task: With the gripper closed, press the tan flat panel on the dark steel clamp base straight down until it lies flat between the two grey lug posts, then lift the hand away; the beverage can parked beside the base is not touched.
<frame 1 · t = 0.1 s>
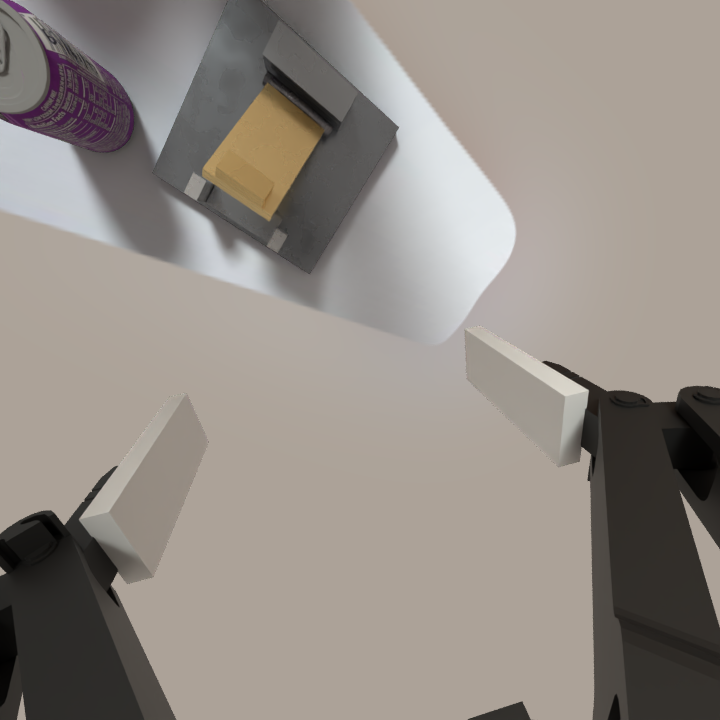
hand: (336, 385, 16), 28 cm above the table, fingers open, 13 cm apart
beverage can: (97, 111, 32), on the table
clamp base: (279, 152, 35), on the table
tan flat panel: (273, 141, 29), point 7 cm above the table, hinge at 35.0°
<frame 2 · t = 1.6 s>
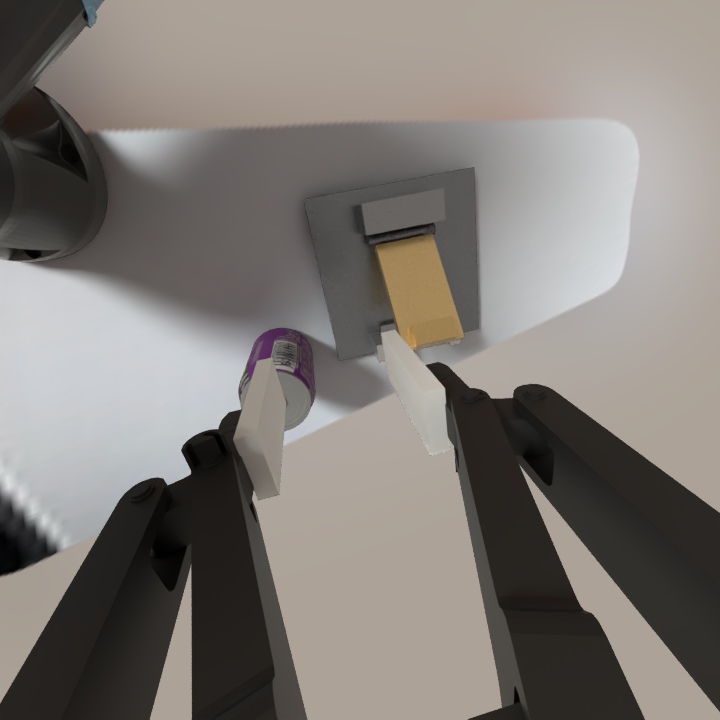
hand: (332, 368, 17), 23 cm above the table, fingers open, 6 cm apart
beverage can: (282, 353, 41), on the table
clamp base: (398, 269, 39), on the table
tan flat panel: (417, 283, 33), point 7 cm above the table, hinge at 35.0°
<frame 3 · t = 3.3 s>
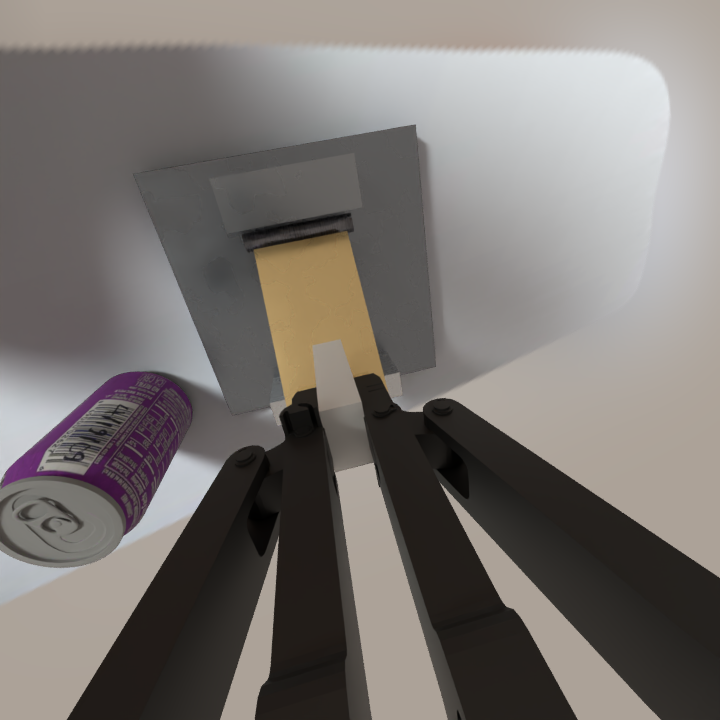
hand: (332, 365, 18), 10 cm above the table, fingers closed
beverage can: (150, 404, 28), on the table
clamp base: (311, 284, 26), on the table
tan flat panel: (317, 312, 20), point 7 cm above the table, hinge at 33.2°, touching gripper
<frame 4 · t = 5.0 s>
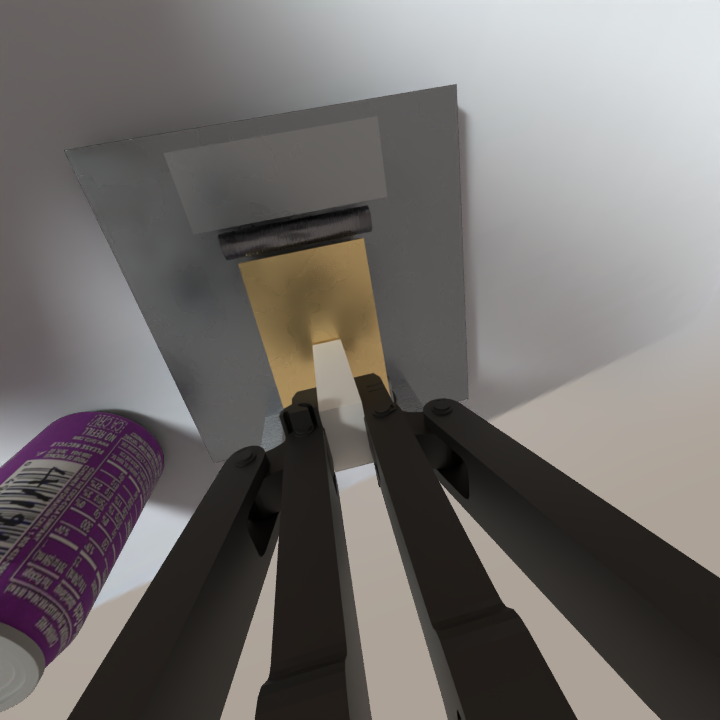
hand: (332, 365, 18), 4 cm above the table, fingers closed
beverage can: (111, 448, 22), on the table
clamp base: (314, 298, 20), on the table
tan flat panel: (324, 347, 17), point 4 cm above the table, hinge at 3.1°, touching gripper
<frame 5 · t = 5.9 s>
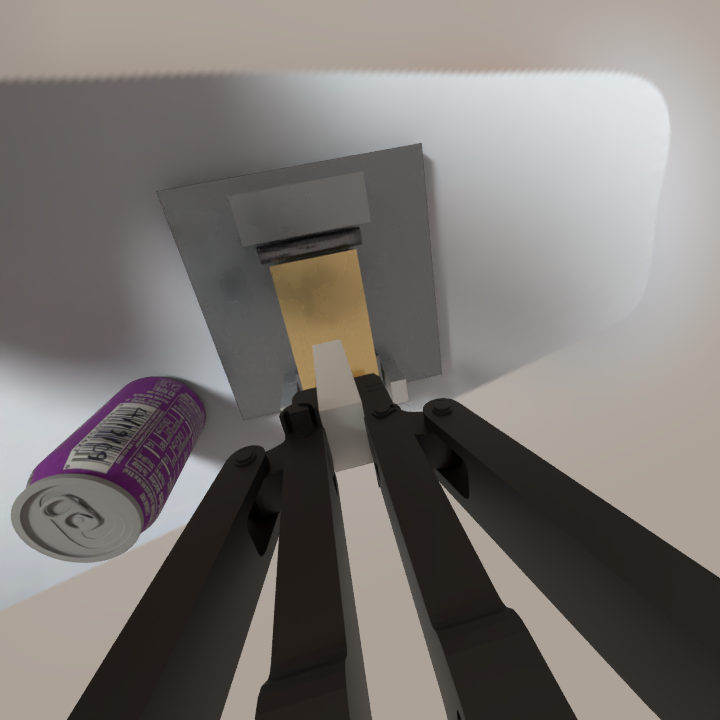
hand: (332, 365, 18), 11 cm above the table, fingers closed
beverage can: (165, 408, 29), on the table
clamp base: (321, 293, 27), on the table
tan flat panel: (328, 326, 24), point 4 cm above the table, hinge at 3.0°
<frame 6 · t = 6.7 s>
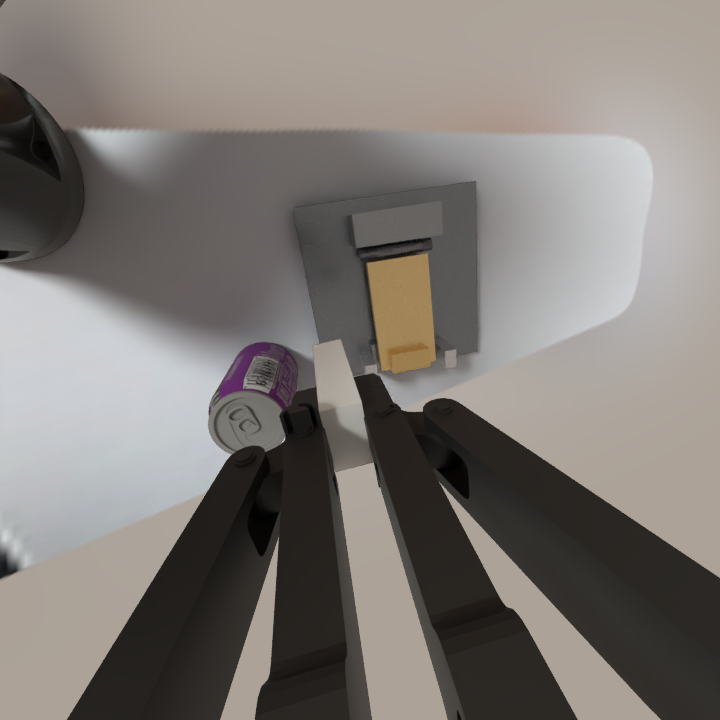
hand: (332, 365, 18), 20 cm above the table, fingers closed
beverage can: (266, 369, 38), on the table
clamp base: (392, 285, 36), on the table
tan flat panel: (403, 308, 33), point 4 cm above the table, hinge at 3.0°
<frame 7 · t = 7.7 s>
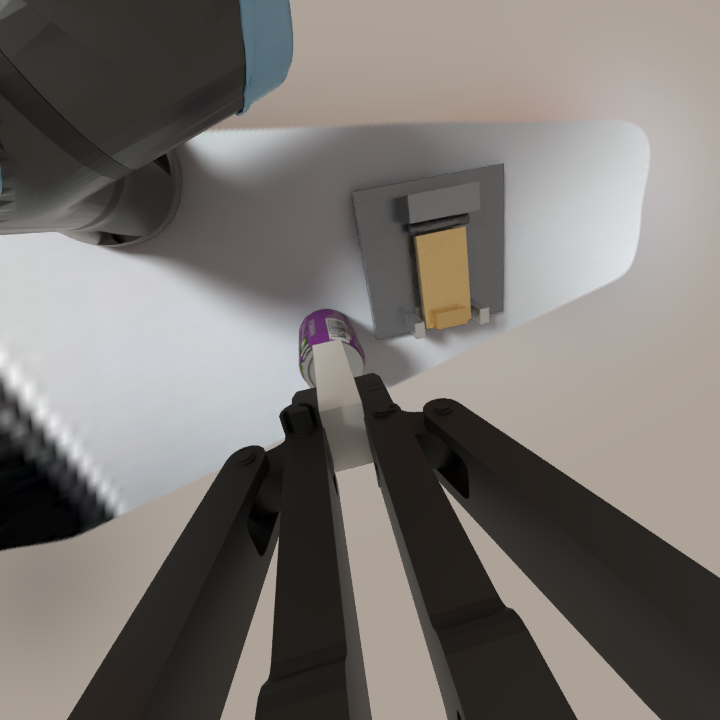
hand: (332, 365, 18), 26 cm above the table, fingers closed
beverage can: (325, 333, 45), on the table
clamp base: (431, 256, 43), on the table
tan flat panel: (444, 274, 40), point 4 cm above the table, hinge at 3.0°
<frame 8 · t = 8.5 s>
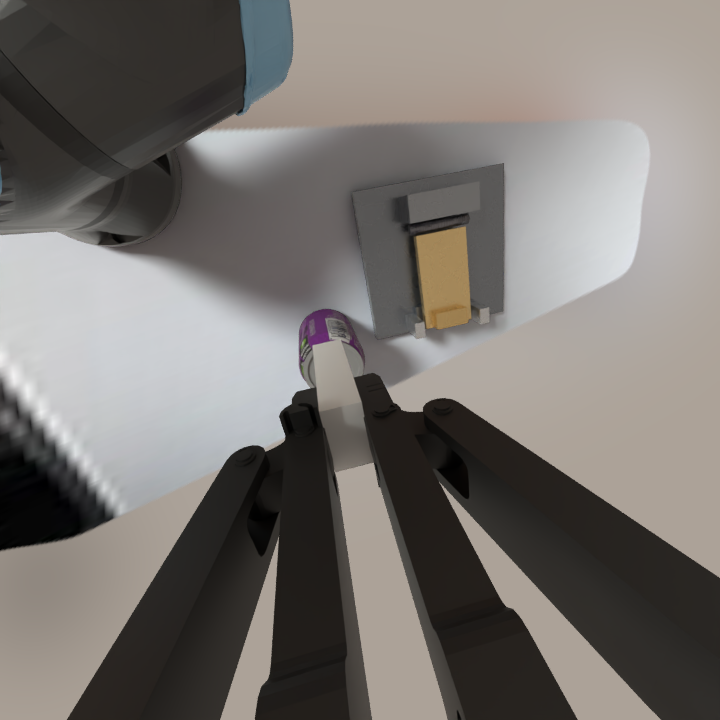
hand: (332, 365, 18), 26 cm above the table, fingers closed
beverage can: (325, 333, 45), on the table
clamp base: (431, 256, 43), on the table
tan flat panel: (445, 274, 40), point 4 cm above the table, hinge at 3.0°
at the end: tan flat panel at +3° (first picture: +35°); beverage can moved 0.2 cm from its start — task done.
